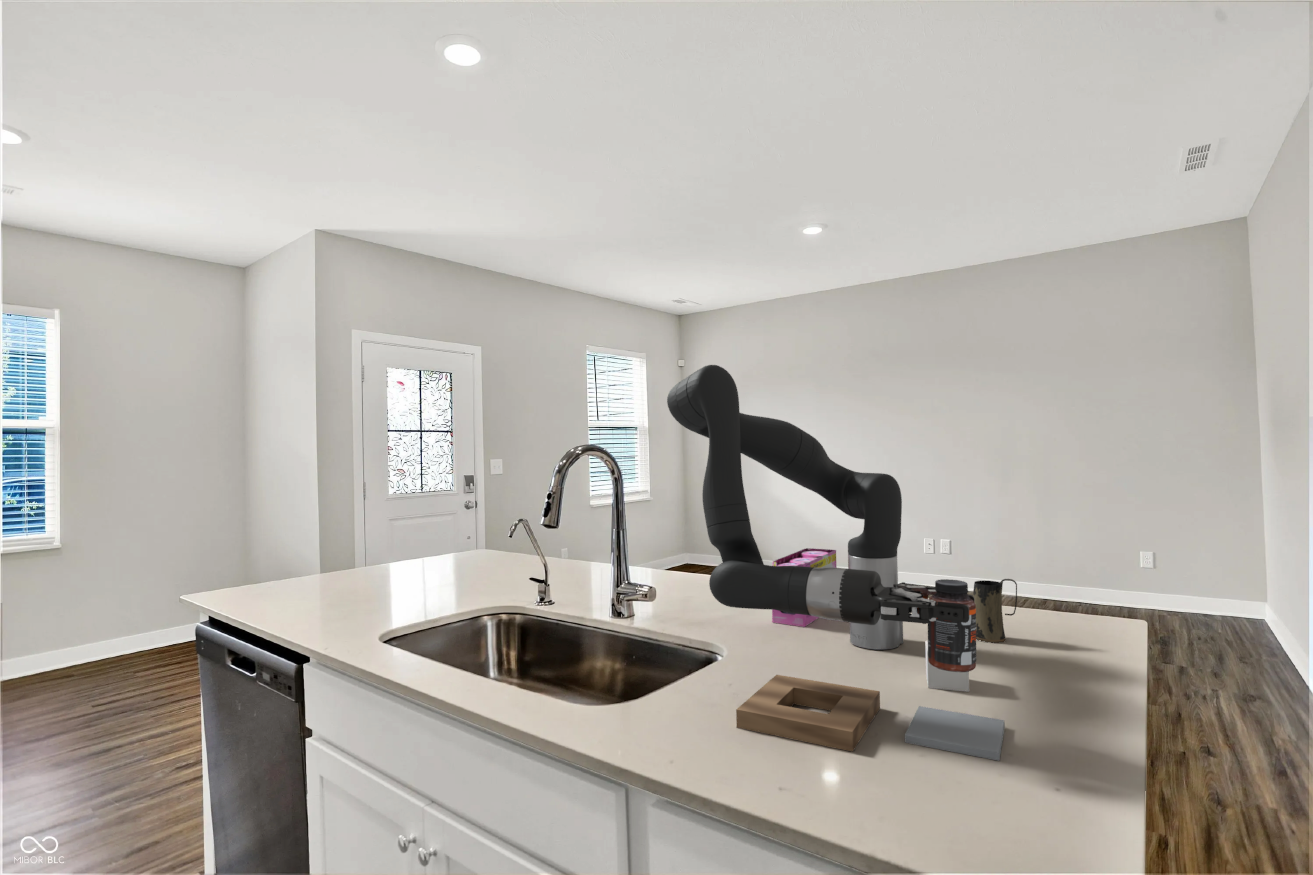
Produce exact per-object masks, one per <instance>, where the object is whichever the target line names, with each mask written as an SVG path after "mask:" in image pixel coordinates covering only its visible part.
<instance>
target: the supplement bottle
mask: <svg viewBox="0 0 1313 875" xmlns="http://www.w3.org/2000/svg"><path fill="white" fill-rule="evenodd" d="M934 584H935V585H934V587H935V590H936V592H937V593H936V594H935V595H933V596H932V595H930V597H928V599H929V600H934V601H936V602H937V605H938V602H948V603H957V604H966V605H968V606H969V621H968V622H966V623H963V622H955V621H946V620H938V618H937V621H929V623H927V641H928V661H929V663H930V664H931V665H932V666H934V667H936V668H938V669H941V670H945V671H951V672H969V673H970V672H972V671H973V670H975V669H976V667H977V640H976V604H975V603H974V601H973V600H972V599H970V597H969V596H968V593H969V586H968V583H967V582H966V581H965V580H958V579H936V580H935V582H934Z"/></svg>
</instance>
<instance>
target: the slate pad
mask: <svg viewBox="0 0 1313 875" xmlns="http://www.w3.org/2000/svg"><path fill="white" fill-rule="evenodd" d="M1005 726H1006V725H1005V720H1004V719H1001V718H993V717H989V716H988V717H987V716H980V715H975V714H970V713H963V712H958V711H951V710H945V709H939V708H933V707H928V706H921V705H918V708H917V709H916V712H915V713H914V716H913V717H912V719H911V722H910V724H909V726H908V728H907V729H906V732H905V733H904V743H905V744H906V743H907V744H911V745H914V746H915V745H916V746H920V747H927V748H931V749H935V750H943V751H947V752H952V753H956V754H962V755H968V756H972V757H978V758H983V759H987V760H988V759H989V760H994V761H998V762H1000V760H1001V759H1000V758H1001V752H1002V748H1003V746H1002V745H1003V739H1004V734H1005Z"/></svg>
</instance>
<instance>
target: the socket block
mask: <svg viewBox="0 0 1313 875" xmlns="http://www.w3.org/2000/svg"><path fill="white" fill-rule="evenodd" d="M793 705H797V706H802V707H808V708H814V709H819V710H825V711H829V712H828V713H826V712H825V713H824V712H820V711H813V710H811V709H810V710H808V709H803V708H797V707H793ZM880 709H881V692H880V690H876V689H868V688H863V687H855V686H850V685H843V684H837V683H831V682H825V681H824V682H823V681H819V680H813V679H806V678H800V677H793V676H787V675H782V674H776V675H775V676H773V677H771V679H770V680H769V681H767V682H766V683H765V684H764V685H763V686H761V687H760V688H759V689H758V690H757V691H755V692H754V694H752V695H751V696H750V697H749V698H748V699H746V700H745V701H744V702H743V703H742V704H740V705H739V706H738V707H737V708H736V710H735V711H736V712H735V713H736V714H735V716H736V729H737V728H738V729H743V730H746V731H752V732H756V733H760V734H766V735H770V736H771V735H772V736H774V737H775V736H776V737H780V738H786V739H791V740H796V741H800V742H804V743H810V744H814V745H818V746H823V747H828V748H834V749H838V750H844V751H848V752H854V750H855V749H856V747H857V746H858V744H859V742H860V741H861V739H862V737H864V735H865V733H866V731H867V730H868V728H869V726H870V725H871V723H872V722H873V720H874V718H875V717H876V715H877V714H878V713H879V711H880Z"/></svg>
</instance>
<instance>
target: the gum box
mask: <svg viewBox="0 0 1313 875" xmlns="http://www.w3.org/2000/svg"><path fill="white" fill-rule="evenodd" d="M771 564H772V565H771V566H803V567H814V568H823V567H833V568H838V567H837V549H828V548H814V547H813V548H811V547H810V548H809V547H807V548H802V549H800V550H798V551H796V552H795V551H794V553H790V554H788V555H786V556H784V557H780V558H778V559H775V560H772V563H771ZM771 614H772V616H771V620H772V621H771V622H772V623H773V624H775V623H776V624H782V625H789V626H795V627H796V626H797V627H803V628H805V627H807V626H808V625H809V624H811V623H813V622H814V621H816V620H818V619H819V618H820V617H816V616H810V615H802V614H795V613H788V612H784V611H779V610H771Z"/></svg>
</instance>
